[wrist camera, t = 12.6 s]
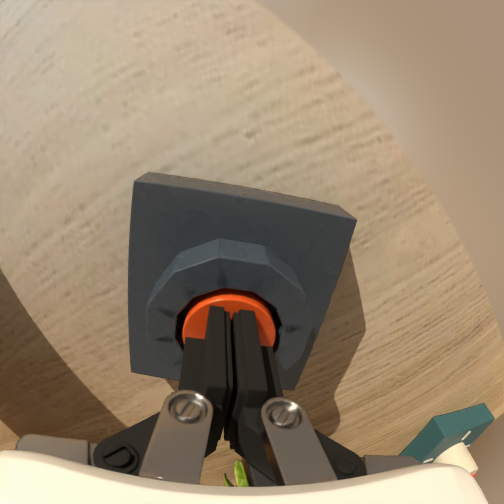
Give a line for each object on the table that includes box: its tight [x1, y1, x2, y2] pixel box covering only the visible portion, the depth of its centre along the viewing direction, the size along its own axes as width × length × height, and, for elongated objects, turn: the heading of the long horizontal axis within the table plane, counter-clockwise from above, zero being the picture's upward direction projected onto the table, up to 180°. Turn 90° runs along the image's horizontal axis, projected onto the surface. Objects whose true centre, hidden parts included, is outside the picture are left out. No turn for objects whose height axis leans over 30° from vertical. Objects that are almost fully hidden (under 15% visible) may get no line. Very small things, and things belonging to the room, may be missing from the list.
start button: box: [182, 288, 276, 347], centre depth 12 cm, size 4×4×2 cm
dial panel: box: [399, 403, 495, 464], centre depth 25 cm, size 10×10×3 cm
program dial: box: [433, 442, 478, 477], centre depth 21 cm, size 4×4×5 cm
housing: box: [128, 172, 357, 390], centre depth 13 cm, size 10×9×4 cm
